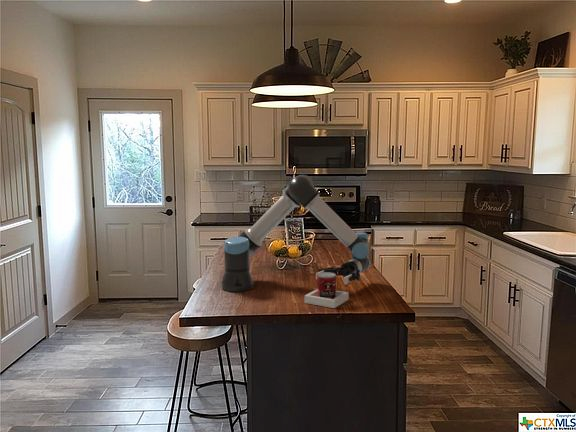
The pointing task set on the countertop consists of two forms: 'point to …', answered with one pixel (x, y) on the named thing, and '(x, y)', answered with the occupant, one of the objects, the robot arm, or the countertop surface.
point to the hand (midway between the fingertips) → (330, 278)
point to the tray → (331, 303)
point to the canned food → (327, 285)
